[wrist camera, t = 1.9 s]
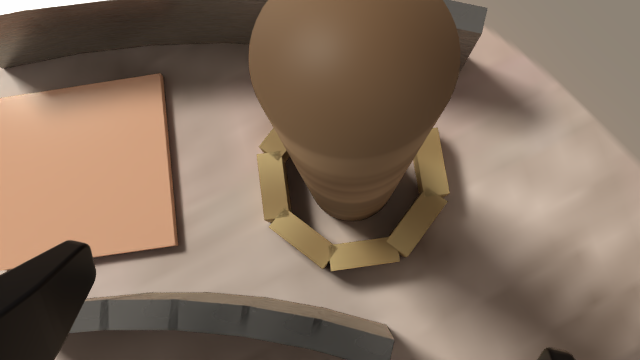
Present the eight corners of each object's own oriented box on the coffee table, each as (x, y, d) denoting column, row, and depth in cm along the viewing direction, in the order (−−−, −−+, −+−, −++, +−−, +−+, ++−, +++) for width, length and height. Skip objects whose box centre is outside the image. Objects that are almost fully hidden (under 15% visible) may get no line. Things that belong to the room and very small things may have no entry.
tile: (178, 245, 21) (175, 245, 21) (4, 270, 22) (-2, 270, 21) (163, 76, 23) (159, 73, 22) (-1, 102, 23) (-7, 99, 23)
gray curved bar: (517, 331, 20) (558, 348, 16) (12, 398, 21) (-67, 430, 17) (447, -26, 23) (467, -87, 19) (1, 45, 23) (-70, 1, 19)
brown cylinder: (454, 253, 21) (624, 239, 8) (276, 278, 21) (158, 303, 8) (423, 82, 22) (526, -172, 9) (255, 108, 22) (125, -103, 9)
